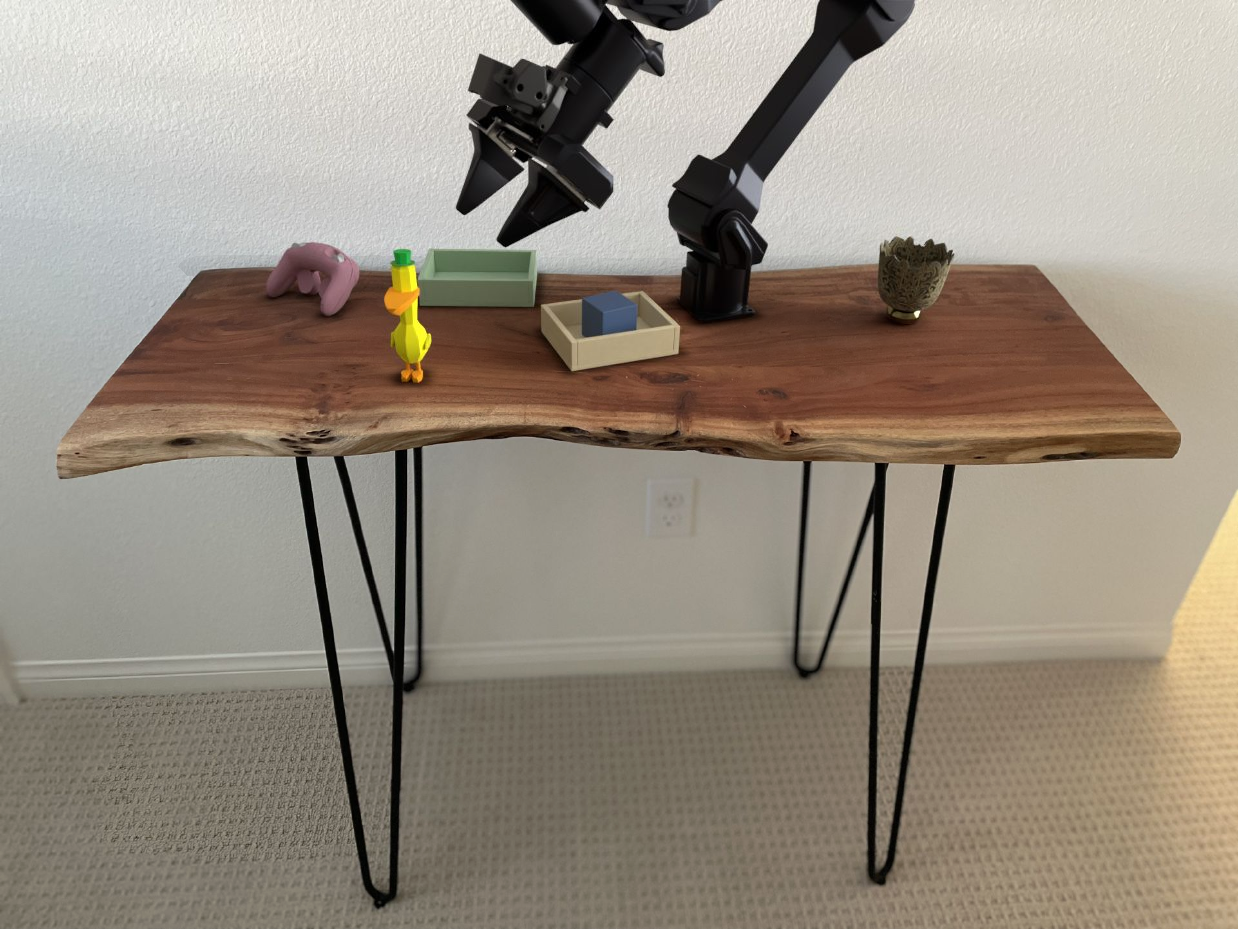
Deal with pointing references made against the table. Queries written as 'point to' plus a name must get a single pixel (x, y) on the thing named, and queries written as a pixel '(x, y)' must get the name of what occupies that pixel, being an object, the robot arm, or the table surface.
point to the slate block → (608, 314)
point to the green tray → (478, 278)
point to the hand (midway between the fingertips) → (479, 227)
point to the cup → (911, 276)
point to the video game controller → (315, 274)
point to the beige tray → (609, 335)
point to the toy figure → (406, 315)
